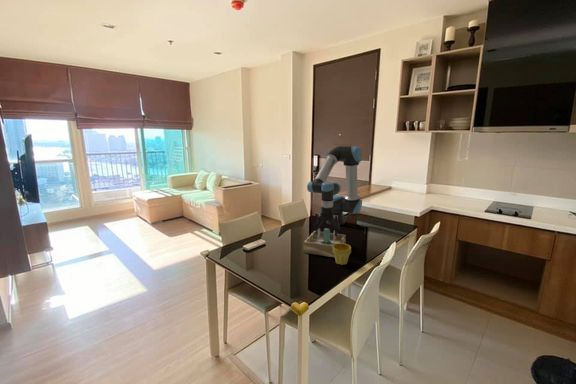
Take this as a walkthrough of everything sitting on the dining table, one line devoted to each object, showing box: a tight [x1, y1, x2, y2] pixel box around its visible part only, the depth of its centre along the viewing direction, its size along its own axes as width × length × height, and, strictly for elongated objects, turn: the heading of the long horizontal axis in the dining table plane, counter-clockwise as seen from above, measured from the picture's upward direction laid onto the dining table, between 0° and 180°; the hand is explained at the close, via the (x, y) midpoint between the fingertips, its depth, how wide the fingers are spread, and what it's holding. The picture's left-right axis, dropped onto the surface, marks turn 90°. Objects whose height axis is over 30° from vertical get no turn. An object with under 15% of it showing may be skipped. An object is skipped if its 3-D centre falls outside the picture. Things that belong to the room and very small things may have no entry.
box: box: [303, 230, 347, 258], centre depth 178 cm, size 22×22×7 cm
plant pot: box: [333, 243, 352, 266], centre depth 158 cm, size 10×10×10 cm
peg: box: [323, 228, 331, 245], centre depth 181 cm, size 4×4×12 cm
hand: (326, 239), depth 181 cm, fingers open, 10 cm apart
